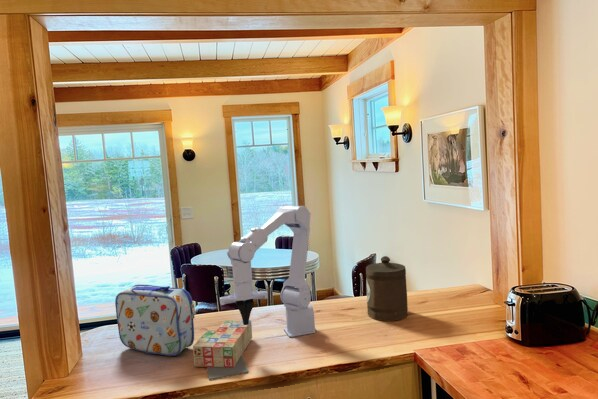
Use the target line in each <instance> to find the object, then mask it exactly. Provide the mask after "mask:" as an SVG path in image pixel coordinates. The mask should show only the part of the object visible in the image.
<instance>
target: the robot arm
mask: <svg viewBox="0 0 598 399" xmlns="http://www.w3.org/2000/svg"><path fill="white" fill-rule="evenodd" d="M311 214H312V213H311V212H310V210H309V209H308V208H307V206H306V205H288V204H283V205H281V206H280V207H279V208H277V209H276V211H275V214H273V215H272V216H271V217H270V218H269V219H268V220H267V221H266V222H265V223H264V224H263V225H262V226H261V227H252V228H251V229H250V232H249V233H247V234H245V236H242V237H241V238H240V240H239V241H234V242H232V243H231V244H230V245H229V247H228V251H227V252H226V254H227V257H228V259H229V260H230V264H231V266H232V280H233V292H234V293H233V294H230V295H225V296H221V297H219V303H220V306H224V305H227V304H233V303H234V304H235V305H236V307H237V309H238V311H239V313H240V316H241V319H242V321H243V324H244V325H248V324H249V320H250V316H251V313H252V310H253V308H254V305H255V302H254V301H255V300H261V299H262V300H263V299H266V300H267V299H268V298H269V297H268V294H269V293H268V291H267V290H257V291H254V289H253V288H254V286H253V273H252V261H253V259H254V257H255V253H257V251H258V250H259V249H260V248H261V247H262V246H264V245H265V244H266V243H267V241H268V238H269V236H270V235H271V234H272V233H274V232H275V231H277V230H278V229H279V228H280V227H282V226H283V225H285V226H286V227H288V228H289V229H290V231H292V232H293V237H292V239H293V240H292V246H291V248H292V249H291V256H290V257H291V258H290V265H289V274H288V275H289V277H288V278H287V279H286V280H285V281H284V282H283V283H282V284H283V286H282V288H281V291H280V295H279V296H280V301H281V302H282V304H283V306H284V307H285V317H286V319H285V320H286V327H283V330H284V332H285V333H286V334H287V336H288V337H290V338H293V337H300V336H304V335H310V334H315V333H316V332H317V331H316V326H315V325H316V324H315V311H314V308H313V306H312V305H311V304H310V303H311V299H312V296H311V285H310V284H309V283H308V282H307V281H306V270H307V259H308V249H309V241H310V232H311V231H310V230H311V228H310V224H311V223H310V222H311Z"/></svg>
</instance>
